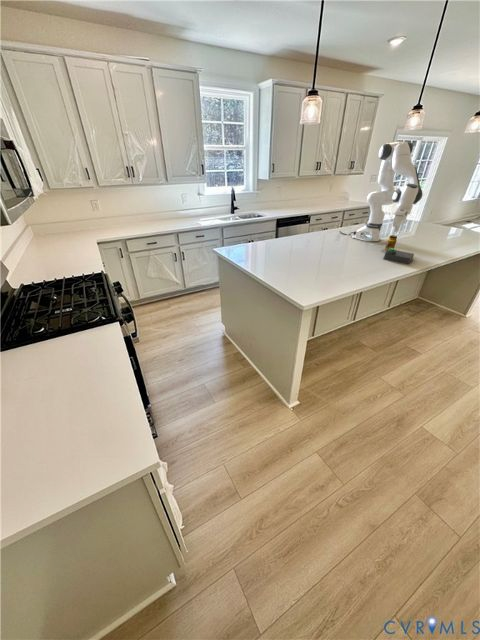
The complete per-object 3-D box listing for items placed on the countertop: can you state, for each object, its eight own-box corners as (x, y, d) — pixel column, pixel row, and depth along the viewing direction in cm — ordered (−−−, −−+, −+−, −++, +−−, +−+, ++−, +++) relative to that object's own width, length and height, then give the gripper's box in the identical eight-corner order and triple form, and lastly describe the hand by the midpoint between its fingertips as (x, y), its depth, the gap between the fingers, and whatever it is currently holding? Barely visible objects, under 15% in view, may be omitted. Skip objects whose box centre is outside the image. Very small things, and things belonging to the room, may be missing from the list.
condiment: (382, 251, 200) (387, 236, 194) (385, 249, 206) (390, 233, 199) (392, 253, 196) (397, 237, 190) (395, 250, 202) (400, 235, 195)
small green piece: (387, 251, 184) (388, 248, 183) (389, 249, 186) (389, 247, 185) (393, 252, 182) (393, 249, 181) (394, 251, 184) (395, 248, 183)
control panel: (382, 258, 187) (385, 250, 184) (387, 254, 195) (390, 246, 192) (408, 264, 178) (411, 256, 174) (412, 259, 186) (415, 251, 183)
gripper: (402, 207, 185) (395, 227, 193) (394, 212, 172) (387, 233, 180) (412, 209, 181) (404, 229, 189) (404, 213, 169) (397, 235, 176)
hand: (396, 231), depth 184 cm, fingers closed
